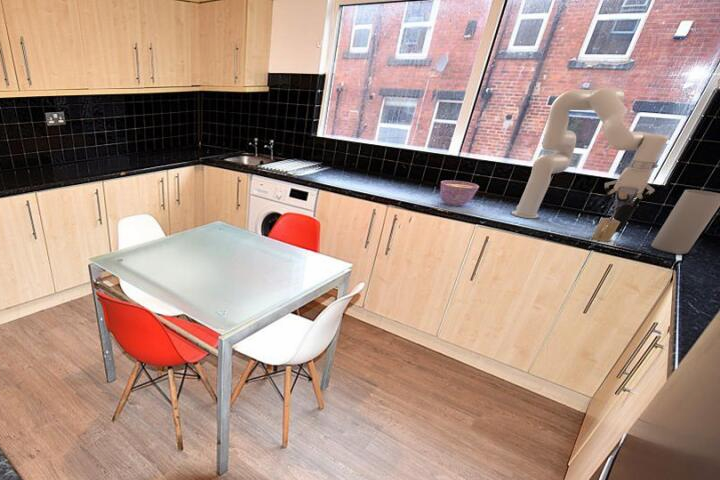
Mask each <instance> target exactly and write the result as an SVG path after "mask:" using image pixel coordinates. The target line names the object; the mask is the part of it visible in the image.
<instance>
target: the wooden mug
mask: <svg viewBox="0 0 720 480" xmlns="http://www.w3.org/2000/svg"><path fill="white" fill-rule="evenodd" d="M619 224H620V223H614V222H608V221H604V220H602V219H601V218H600V220H599V222H598V224H597V226H596V228H595V230H594V231H593V233H592V235H591V239H592V240H595V241H599V242H610V241H611V240H612V238H613V237H614V234H615V233H616V232H615V231H616V229H617V227H618V226H619Z"/></svg>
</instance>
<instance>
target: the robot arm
mask: <svg viewBox="0 0 720 480" xmlns="http://www.w3.org/2000/svg"><path fill="white" fill-rule="evenodd" d="M625 96H626V95H625V91H624V90H623V89H622V88H619V87H606V86H605V87H601V88H598V89H570V90H568V91H564V92H563V93H561V94H559V96H558V97H556V98H555V100H554V101H553V102H552V104H551V106H550V109H549V113H548V118H547V123H546V126H545V131H544V134H543V139H542V144H541V147H542V150H544V151H547V152H552V153H545V154H542V155H540V156H539V157H537V158H536V159H535V160H534V162H533V164H532V168H531V173H530V176H529V178H528V181H527V184H526V186H525V189H524V190H523V193H522V195H521V197H520V200H519V203H518V204H517V205H516V210H512V211H511V215H513V216H515V217H519V218H523V219H530V220H531V219H533V220H534V219H538V218H539V216H540V215H539V214H538V210H539V209H540V207H541V204H542V202H543V200H544V197H545V195H546V193H547V191H548V188H549V186H550V184H551V179H552V174H560V173H562V172H565V171H566V170H567V169H568V168H569V166H570V164H571V162H572V158H573V155H574V151H575V149H576V144H577V135H576V133H575V132H574V131H572V130H569V129H568V125H569V123H570V114H569V112H570V111H594V113H595V114H596V115H597V117H598V118H599V120H600V121H601V122H602V124H603V134H604V137H605V139H606V140H607V141H608V143H609V144H610V146H611V147H612V148H613V149H615V150H617V151H622V152H623V151H636V152H635V154H634V156H633V158H632V160H631V162H630V163H629V165H628V166H626V167H625V168H624V169H623V170H622V172H621V173H620V175H619V177H618V178H617V180H613V181H608V182H604V190H605V192H606V197H605V198H604V200H603V201H604V204H605V205H606V204H608V203H609V201H610V199H611V197H612V194H614V192H615V191H617V190H618V188H619V187H623V188H629V189H639V190H638V192H637V195H636V197H635V198H634V203H633V205H632V208H634V207H635V206H637V205H638V204H639V203H640V201H641V200H642V199H644V198H646V197H648V196H650V195H651V194H653V193H654V192H655V191H656V190H655V188H654V187H652V186H650V185H649V184H648V183H649V181H650V178H651V177H652V174H653V169H654V168H658V167H659V164H658V163H656V162H657V160H658V158H659V156H660V155H661V153H662V151H663V149H664V148H665V146H666V144H667V143H668V140H669V136H668V135H665V134H661V133H649V132H646V131H636V130H635V131H632V130H630V129H629V128H628V127H627V125H626V124H625V122H624V117H625V116H627V114H628V112H629V111H628V108H627V106H625V104H624V103H623V102H624V99H625ZM612 185H613V188H612V189H610V186H612ZM645 189H646V190H648V191H647V192H646V193H644V190H645ZM642 193H643V194H642ZM637 207H638V206H637Z"/></svg>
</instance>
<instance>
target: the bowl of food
mask: <svg viewBox="0 0 720 480" xmlns="http://www.w3.org/2000/svg"><path fill="white" fill-rule="evenodd" d="M479 188H480V186H479V185H478V184H476V183H473V182H469V181H464V180H451V179H450V180H446V179H445V180H441V181H440V191H439V192H440V194H439V197H440V199H441V201H442V202H444V203H445V205H447V206H451V207H461V206H463V205H466V204H468V203H469V202H471V200H472V199H473V198H474V196H475V195H476V193H477V191H478V190H479Z"/></svg>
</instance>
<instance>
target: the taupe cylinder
mask: <svg viewBox="0 0 720 480" xmlns="http://www.w3.org/2000/svg"><path fill="white" fill-rule="evenodd" d="M719 208H720V193H718V192H713V191H707V190H700V189H699V190H698V189H684V191H683V193H682V195H681V196H680V197H679V199H678V201H677V202H676V204H675V205H674V207H673V209H672V210H671V211H670V213H669V215H668V217H667V218H666V220H665V222H664V223H663V225H662V226H661V228H660V230H659V231H658V233H657V234H656V235H655V237H654V239H653V240H652V242H651V244H650V247H651V248H652V249H654V250H657V251H659V252H663V253H668V254H672V255H673V254H674V255H685V254H688V253H689V251H690V250H691V249H692V247H693V246H694V245H695V244H696V241H697V240H698V239H699V237H700V235H701V234H702V232H703V231H704V230H705V228H706V227H707V225H708V224H709V222H710V221H711V219H712V218H713V217H714V216H715V213H716V212H717V211H718V209H719Z"/></svg>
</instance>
